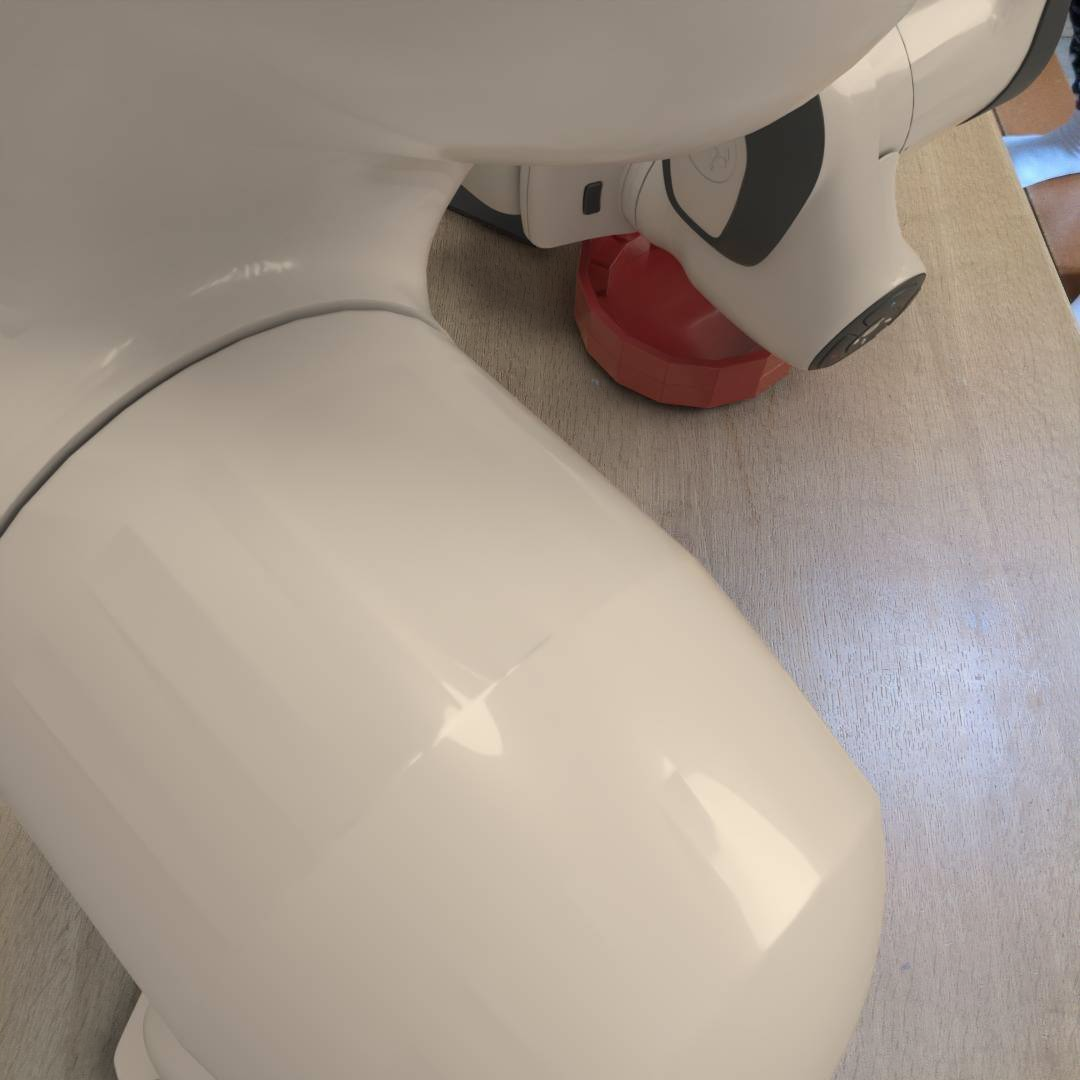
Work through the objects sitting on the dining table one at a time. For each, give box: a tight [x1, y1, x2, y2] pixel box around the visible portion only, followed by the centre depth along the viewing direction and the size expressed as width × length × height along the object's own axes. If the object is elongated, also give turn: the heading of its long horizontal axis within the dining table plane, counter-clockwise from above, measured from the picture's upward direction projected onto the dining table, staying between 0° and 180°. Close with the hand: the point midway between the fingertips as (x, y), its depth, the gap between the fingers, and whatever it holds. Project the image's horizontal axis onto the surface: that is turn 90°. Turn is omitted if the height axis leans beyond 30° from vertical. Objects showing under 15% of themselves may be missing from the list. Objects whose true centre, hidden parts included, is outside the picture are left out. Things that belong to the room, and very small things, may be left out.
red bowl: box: [573, 231, 793, 409], centre depth 62 cm, size 14×14×4 cm
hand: (515, 1), depth 61 cm, fingers open, 8 cm apart
